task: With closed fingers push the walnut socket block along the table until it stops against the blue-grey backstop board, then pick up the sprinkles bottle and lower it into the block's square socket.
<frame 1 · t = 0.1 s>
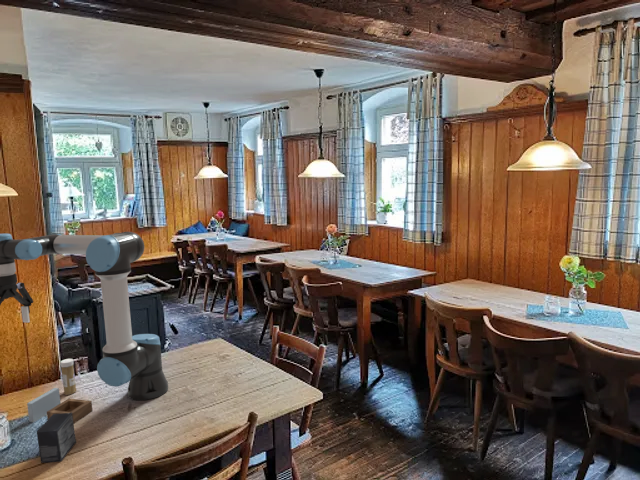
hand: (11, 327, 179), 28 cm above the table, fingers open, 13 cm apart
socket block: (70, 411, 166), point 2 cm above the table, slide at 0.0 cm
backstop board: (45, 413, 169), on the table
sprinkles bottle: (70, 392, 185), on the table
small box: (58, 453, 144), on the table
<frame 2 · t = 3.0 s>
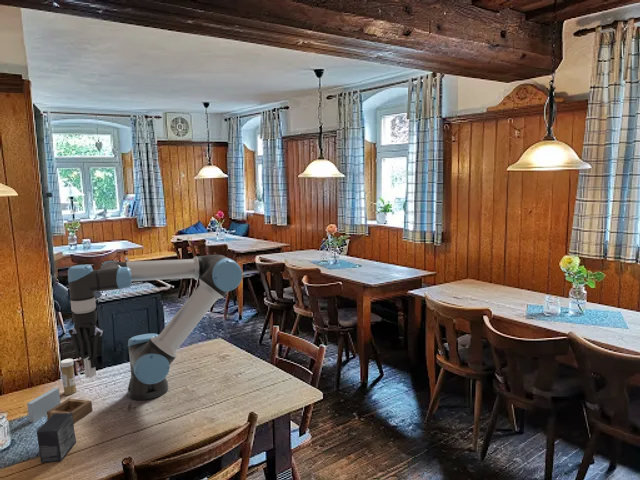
hand: (90, 375, 161), 16 cm above the table, fingers closed
nothing on the table moved.
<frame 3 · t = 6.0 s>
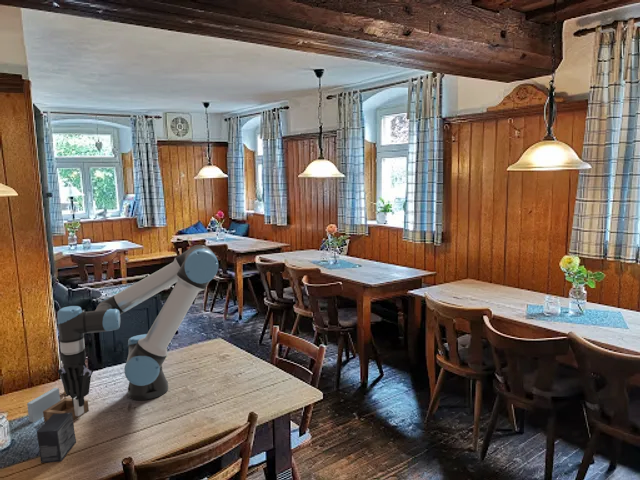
hand: (79, 414, 164), 2 cm above the table, fingers closed
socket block: (66, 411, 166), point 2 cm above the table, slide at 1.6 cm, touching gripper
everything else where it was.
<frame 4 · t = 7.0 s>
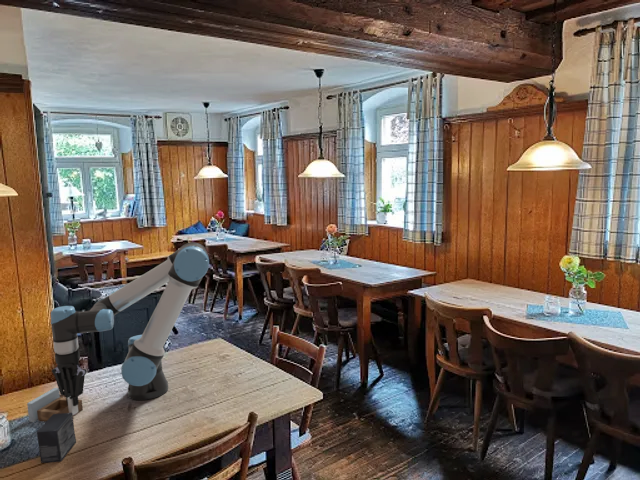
hand: (73, 413, 165), 1 cm above the table, fingers closed
socket block: (60, 410, 167), point 2 cm above the table, slide at 4.2 cm, touching gripper
everything else where it was.
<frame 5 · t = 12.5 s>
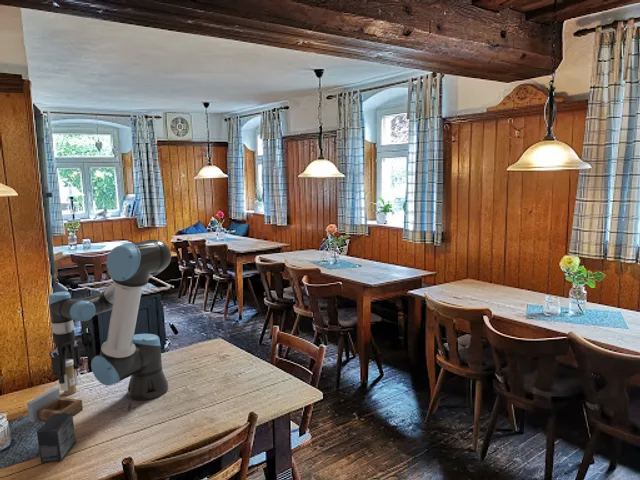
hand: (69, 387, 185), 2 cm above the table, fingers closed on sprinkles bottle, 4 cm apart
socket block: (60, 410, 167), point 2 cm above the table, slide at 4.2 cm
sprinkles bottle: (70, 392, 185), on the table, touching gripper
everything else where it was.
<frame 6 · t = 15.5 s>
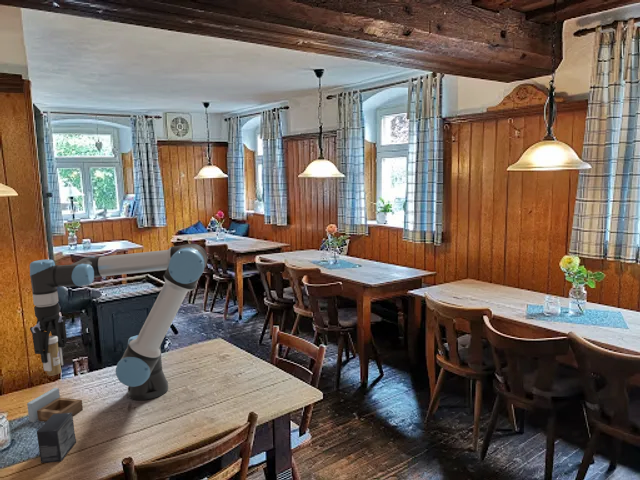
hand: (53, 367, 165), 18 cm above the table, fingers closed on sprinkles bottle, 4 cm apart
sprinkles bottle: (54, 373, 165), point 16 cm above the table, touching gripper
everything else where it was.
when the fingers open (5 cm above the table, at t = 18.7 s): sprinkles bottle drops 2 cm, resting on socket block.
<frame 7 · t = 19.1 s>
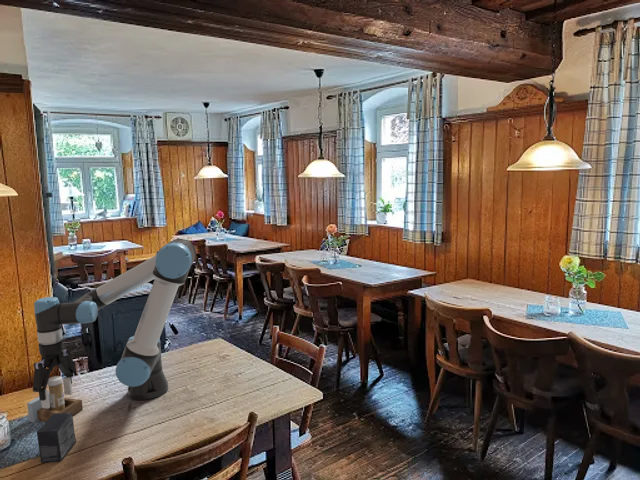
hand: (57, 400, 166), 6 cm above the table, fingers open, 9 cm apart
socket block: (60, 410, 167), point 2 cm above the table, slide at 4.2 cm, touching sprinkles bottle
sprinkles bottle: (58, 413, 167), point 1 cm above the table, touching socket block
everything else where it was.
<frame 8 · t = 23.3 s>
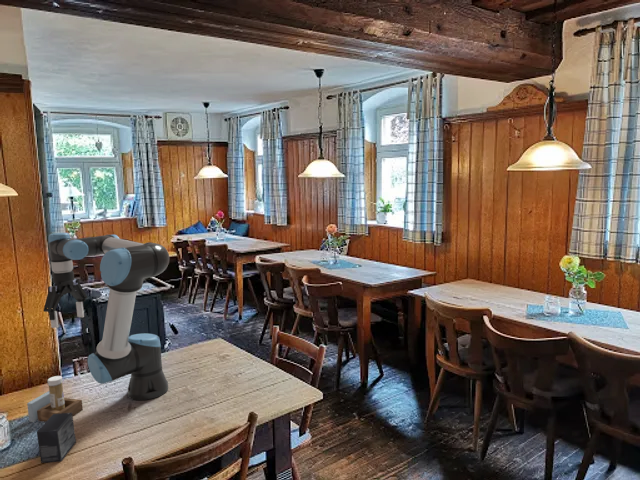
hand: (68, 322, 189), 27 cm above the table, fingers open, 13 cm apart
nothing on the table moved.
at the end: socket block slide at 4.2 cm; sprinkles bottle 0.8 cm off-centre on the socket block, point 0.6 cm above the socket block's base; sprinkles bottle tilted 0° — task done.
